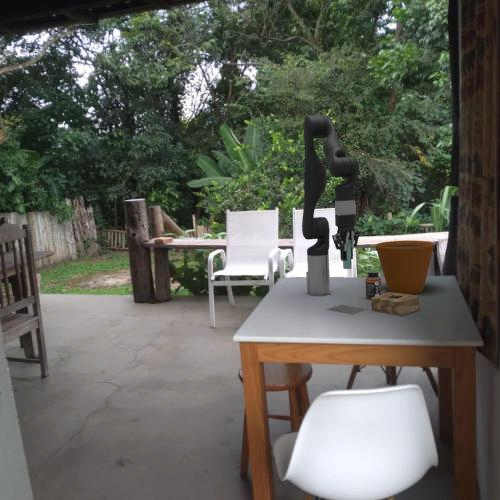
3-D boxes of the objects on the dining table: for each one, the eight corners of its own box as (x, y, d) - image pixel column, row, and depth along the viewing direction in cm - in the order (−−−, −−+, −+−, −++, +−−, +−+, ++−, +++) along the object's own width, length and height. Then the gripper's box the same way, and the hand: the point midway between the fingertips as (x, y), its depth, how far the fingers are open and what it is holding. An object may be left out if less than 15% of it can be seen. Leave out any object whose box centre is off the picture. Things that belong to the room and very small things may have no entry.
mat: (326, 310, 182) (326, 309, 182) (341, 305, 188) (341, 304, 188) (353, 315, 173) (353, 314, 173) (367, 310, 179) (367, 309, 179)
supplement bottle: (381, 301, 192) (381, 272, 190) (366, 301, 193) (365, 273, 192) (380, 297, 198) (380, 270, 196) (365, 297, 199) (365, 270, 197)
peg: (341, 268, 179) (340, 241, 177) (346, 267, 181) (345, 240, 179) (348, 269, 176) (347, 242, 175) (353, 268, 178) (352, 241, 177)
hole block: (371, 311, 177) (371, 298, 177) (390, 304, 185) (389, 291, 185) (401, 316, 168) (400, 302, 168) (419, 309, 176) (418, 295, 176)
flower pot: (446, 289, 206) (446, 242, 203) (410, 298, 193) (409, 249, 190) (400, 282, 225) (399, 239, 223) (365, 290, 212) (363, 245, 210)
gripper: (348, 211, 183) (350, 256, 186) (324, 214, 174) (326, 262, 176) (365, 211, 178) (366, 258, 180) (341, 214, 169) (343, 263, 171)
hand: (346, 259), depth 178 cm, fingers closed on peg, 3 cm apart
